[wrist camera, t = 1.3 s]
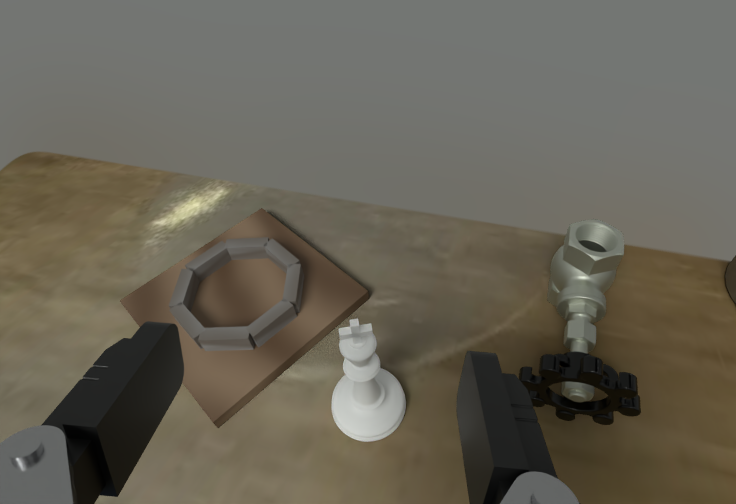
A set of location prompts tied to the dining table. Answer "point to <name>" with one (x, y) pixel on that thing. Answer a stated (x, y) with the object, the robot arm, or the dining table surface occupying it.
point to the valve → (583, 329)
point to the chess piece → (365, 388)
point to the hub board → (246, 309)
